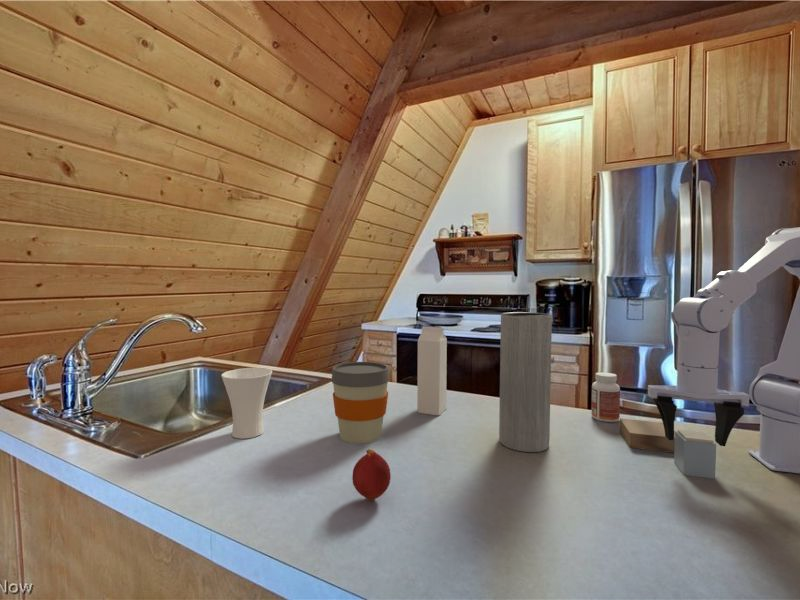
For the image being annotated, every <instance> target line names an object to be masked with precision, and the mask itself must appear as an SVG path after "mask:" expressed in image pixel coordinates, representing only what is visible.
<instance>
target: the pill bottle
mask: <svg viewBox="0 0 800 600" xmlns="http://www.w3.org/2000/svg"><path fill="white" fill-rule="evenodd" d="M594 379H595V381H594V382H592V385H591V417H592V418H593V419H594V420H597V421H600V422H604V423H605V422H606V423H615V422H618V421H620V415H621V414H620V413H621V411H620V409H621V405H620V404H621V387H620V385H619V384H618V383H616V382H617V380H618V375H617V374H616V373H612V372H611V373H610V372H603V371H602V372H601V371H600V372H595V377H594Z"/></svg>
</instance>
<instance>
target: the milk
mask: <svg viewBox="0 0 800 600" xmlns="http://www.w3.org/2000/svg"><path fill="white" fill-rule="evenodd" d="M447 342H448V339H447V337H446V335H445V332H444V327H441V326H439V327H438V326H422V327H421V333H420V335H419V337H418V339H417V394H416V395H417V396H416V397H417V405H416V406H417V413H418V414H426V415H433V416H438V417H440V416H441V414H442V413H444V412H445V411H446V410H447V373H448V371H447V367H448V366H447V365H448V364H447V361H448V359H447V358H448V357H447V356H448V355H447V350H448V349H447V347H448V344H447Z"/></svg>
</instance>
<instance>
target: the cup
mask: <svg viewBox="0 0 800 600" xmlns="http://www.w3.org/2000/svg"><path fill="white" fill-rule="evenodd" d="M272 374H273V370H272V369H270V368H265V367H246V368H245V367H243V368H235V369H232V370H227V371H225V372H223V373H221V376H220V377H221V378H222V382H223V384H224V386H225V390H226V393H227V396H228V399H229V403H230V409H231V413H232V414H231V415H232V431H231V436H232V437H233V438H234V439H244V440H245V439H251V438H255V437H258V436H261V435H262V434H263V433H264V431H265V430H264V421H263V417H264V416H263V413H264V405H265V404H264V403H265V399H266V393H267V391H268V386H269V385H270V380H271V377H272Z"/></svg>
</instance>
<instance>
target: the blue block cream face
mask: <svg viewBox="0 0 800 600" xmlns="http://www.w3.org/2000/svg"><path fill="white" fill-rule="evenodd" d="M673 456H674V457H673V459H674V461H673V463H674V465H675V466H676V468H677V469H678V470H679V471H680V473H682V475H685V476H689V477H690V476H691V477H692V476H693V477H701V478H706V479H712V480H713V479H714V480H715V479H716V467H717V466H716V462H717V444H716V442H715V441H714V440H713V438H711V437H710V436H709V435H707V434H706V433H705V432H704V431H695V430H684V429H677V431H675V451H674V454H673Z"/></svg>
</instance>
